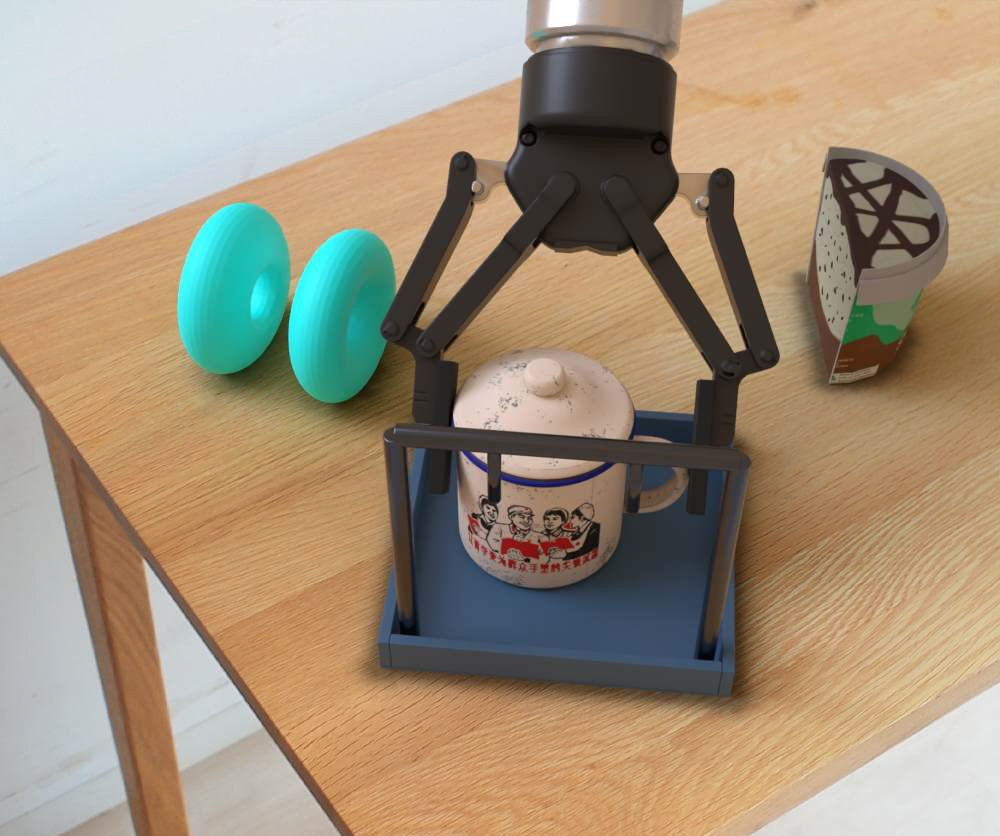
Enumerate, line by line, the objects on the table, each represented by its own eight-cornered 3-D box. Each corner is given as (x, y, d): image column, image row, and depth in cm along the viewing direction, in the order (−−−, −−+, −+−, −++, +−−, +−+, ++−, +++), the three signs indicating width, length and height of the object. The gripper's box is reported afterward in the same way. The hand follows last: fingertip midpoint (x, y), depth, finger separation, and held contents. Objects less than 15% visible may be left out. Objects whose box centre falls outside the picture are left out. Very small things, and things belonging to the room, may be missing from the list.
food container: (936, 409, 84) (979, 276, 77) (831, 410, 84) (864, 276, 77) (896, 273, 92) (932, 140, 85) (800, 273, 92) (827, 140, 85)
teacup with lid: (443, 587, 74) (435, 429, 66) (466, 459, 80) (462, 299, 72) (676, 609, 74) (700, 451, 65) (682, 478, 80) (705, 317, 71)
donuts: (260, 296, 91) (238, 163, 83) (407, 333, 89) (398, 199, 81) (184, 401, 85) (154, 268, 77) (340, 443, 82) (324, 310, 75)
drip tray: (727, 451, 82) (733, 416, 80) (728, 705, 71) (735, 672, 69) (427, 429, 83) (425, 394, 81) (380, 675, 72) (376, 642, 70)
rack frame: (710, 673, 72) (753, 443, 60) (709, 690, 71) (753, 461, 59) (403, 647, 73) (383, 416, 61) (400, 663, 72) (380, 433, 60)
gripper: (840, 92, 73) (803, 517, 74) (366, 64, 75) (338, 480, 76) (867, 54, 65) (825, 528, 67) (340, 24, 67) (309, 487, 68)
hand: (566, 503), depth 71 cm, fingers closed on teacup with lid, 12 cm apart
